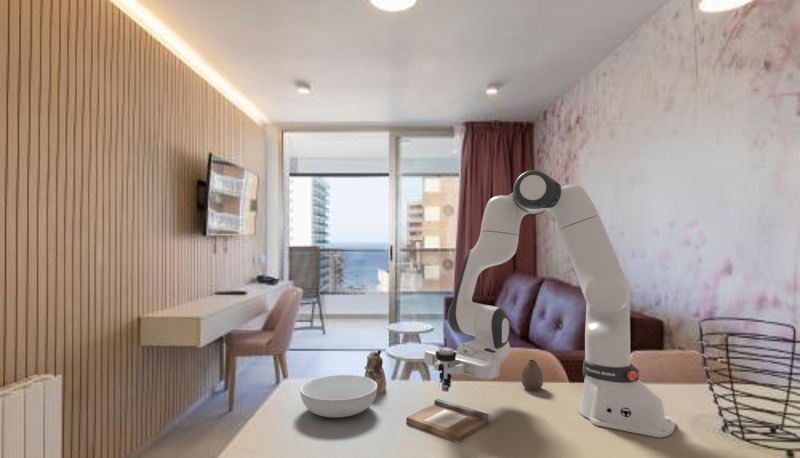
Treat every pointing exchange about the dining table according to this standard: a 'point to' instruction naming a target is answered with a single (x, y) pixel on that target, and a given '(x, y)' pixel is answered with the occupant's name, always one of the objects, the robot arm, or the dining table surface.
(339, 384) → the serving bowl
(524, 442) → the dining table surface
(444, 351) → the push button
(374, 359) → the figurine
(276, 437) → the dining table surface
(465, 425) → the brown board with label
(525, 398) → the dining table surface
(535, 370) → the vase
